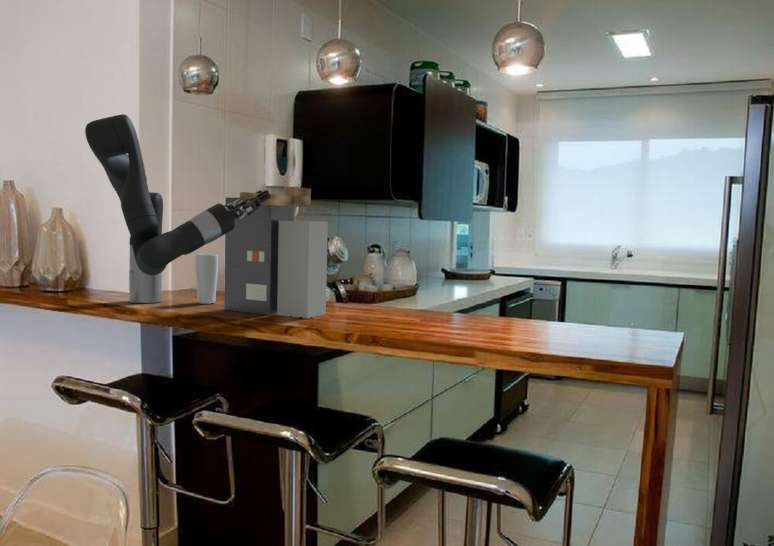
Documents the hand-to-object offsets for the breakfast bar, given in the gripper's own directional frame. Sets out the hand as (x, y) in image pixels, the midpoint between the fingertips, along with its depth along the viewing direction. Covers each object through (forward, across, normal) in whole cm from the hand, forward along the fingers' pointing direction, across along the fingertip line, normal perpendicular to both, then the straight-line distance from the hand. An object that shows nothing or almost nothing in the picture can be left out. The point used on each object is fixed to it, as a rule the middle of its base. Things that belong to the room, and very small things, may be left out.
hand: (265, 193), depth 170 cm
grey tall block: (-6, 0, +34) cm, 35 cm away
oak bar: (+1, 0, +4) cm, 4 cm away
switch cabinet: (-11, +13, +31) cm, 36 cm away
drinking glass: (-17, +34, +28) cm, 48 cm away
